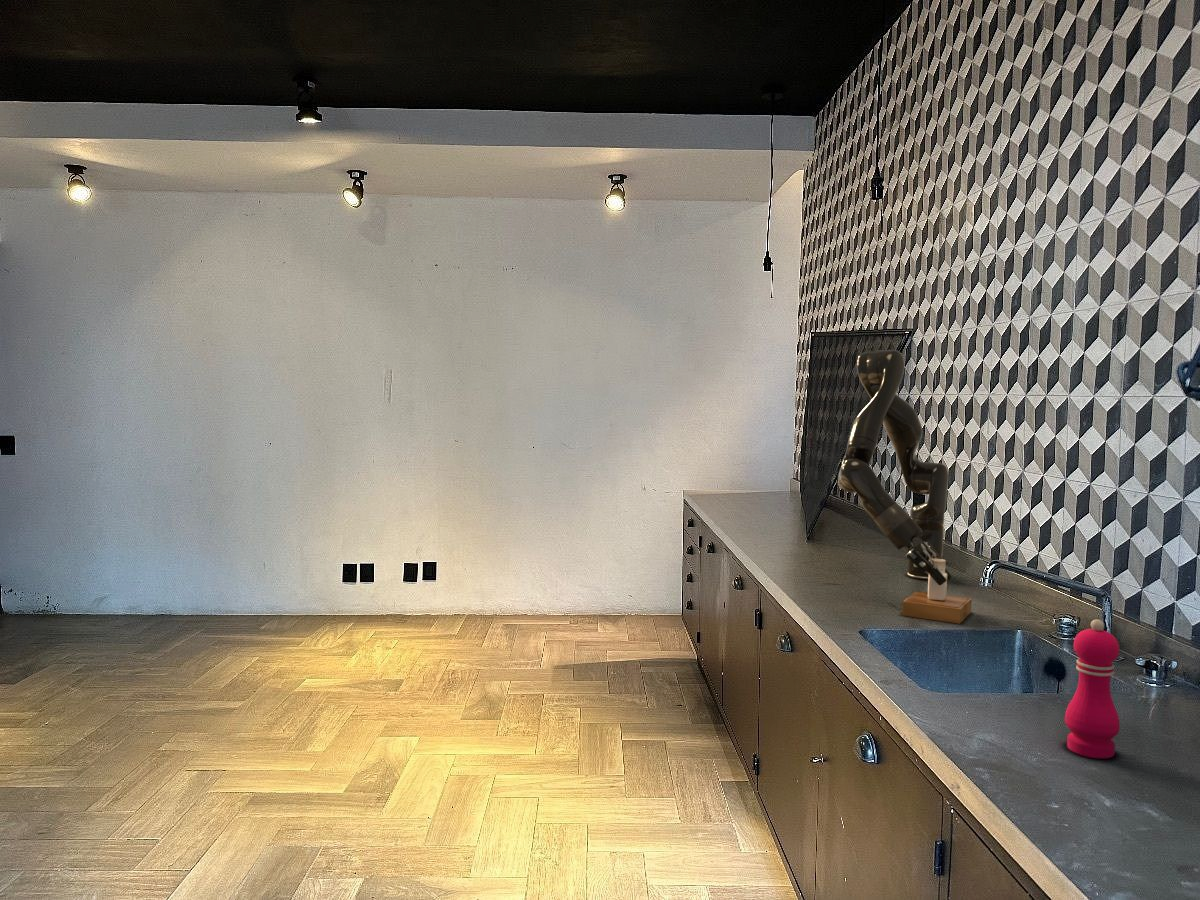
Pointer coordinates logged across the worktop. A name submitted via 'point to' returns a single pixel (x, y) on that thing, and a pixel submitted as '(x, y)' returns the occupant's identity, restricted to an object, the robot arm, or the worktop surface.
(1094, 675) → the pepper mill
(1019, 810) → the worktop surface
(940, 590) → the pepper shaker
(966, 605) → the riser
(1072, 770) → the worktop surface
